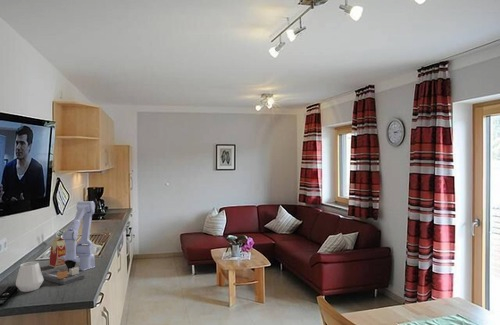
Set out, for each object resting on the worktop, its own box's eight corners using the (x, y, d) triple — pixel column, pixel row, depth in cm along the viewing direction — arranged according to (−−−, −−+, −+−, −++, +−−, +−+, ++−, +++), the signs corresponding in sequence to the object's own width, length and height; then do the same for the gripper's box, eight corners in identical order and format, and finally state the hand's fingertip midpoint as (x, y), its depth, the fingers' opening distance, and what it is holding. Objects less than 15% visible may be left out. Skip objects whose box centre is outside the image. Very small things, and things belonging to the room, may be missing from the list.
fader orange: (64, 275, 216) (64, 269, 216) (67, 276, 214) (67, 270, 214) (57, 277, 212) (57, 271, 212) (60, 278, 210) (60, 272, 210)
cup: (13, 288, 202) (12, 263, 202) (40, 282, 211) (39, 258, 211) (18, 295, 192) (18, 269, 192) (46, 288, 202) (46, 263, 201)
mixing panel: (58, 271, 232) (58, 268, 232) (84, 278, 219) (84, 274, 219) (38, 277, 220) (38, 273, 220) (63, 284, 207) (63, 281, 207)
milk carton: (69, 264, 246) (68, 235, 246) (55, 268, 239) (55, 237, 238) (61, 262, 252) (61, 233, 251) (48, 265, 244) (47, 236, 243)
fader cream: (76, 272, 221) (75, 266, 221) (79, 273, 220) (79, 267, 220) (69, 274, 218) (69, 268, 217) (72, 275, 216) (72, 269, 216)
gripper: (57, 250, 220) (57, 272, 220) (71, 253, 213) (72, 276, 213) (68, 247, 226) (68, 269, 227) (82, 250, 219) (83, 272, 219)
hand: (71, 272), depth 220 cm, fingers closed
